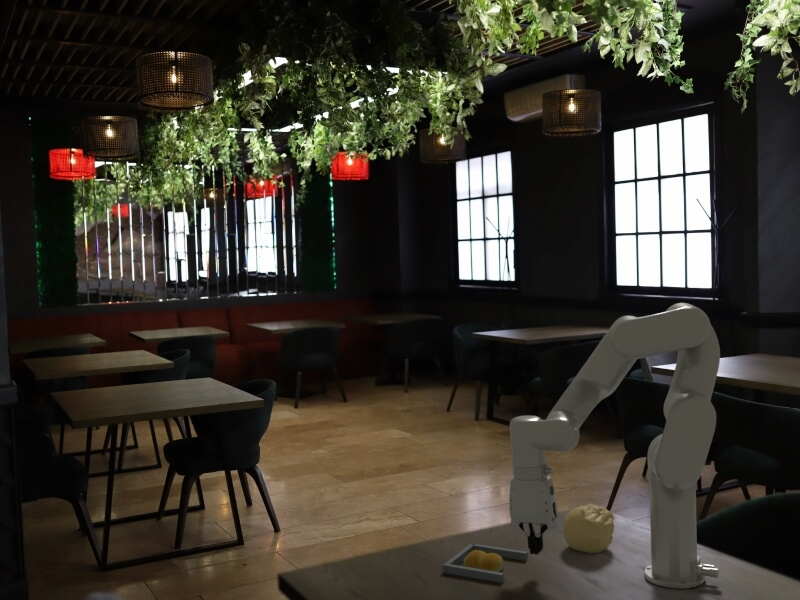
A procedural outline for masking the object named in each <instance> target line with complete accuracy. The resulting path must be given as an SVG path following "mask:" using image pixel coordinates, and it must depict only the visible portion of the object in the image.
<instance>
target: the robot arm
mask: <svg viewBox="0 0 800 600" xmlns="http://www.w3.org/2000/svg"><path fill="white" fill-rule="evenodd" d="M719 342H720V341H719V340H718V336H717V334H716V332H715V329H714V327H713V325H712V324H711V320H710V318H709V316H708V315H707V314H706V313H705V311H704V310H702V309H701V308H700V307H697V306H695V305H693V304H690V303H687V302H679V303H674V304H673V305H671V306H670V307H668V308H667V309H666V310H665V311H663V312H660V313H658V312H657V313H655V314H654V313H653V314H651V315H650V314H649V315H645V316H639V317H637V316H634V315H623V316H620V317H619V318H617V319H616V320H615V321H614V322H613V323H612V324H611V326H610V327H609V329H608V330H607V331H606V333H605V334H604V336H603V337H602V339H601V340H600V341H599V343H598V344H597V346H596V347H595V348H594V350H593V352H592V353H591V355H590V356H589V357H588V358H587V361H586V362H585V363H584V364H583V366H582V367H581V369H580V370H579V371H578V373H577V374H576V375H575V377H574V379H573V380H572V381H571V382H570V384H569V385H568V387H567V388H566V389H565V390H564V392H563V393H562V395H561V396H560V398H559V399H558V400H557V402H556V403H555V404H554V406H553V407H552V409H551V410H550V412H549V413H548V415H547V417H546V419H542V418H541V417H539V416H537V415H518V416H515V417H513V418H511V420H510V422H509V437H510V449H511V450H510V451H511V462H512V463H511V464H512V474H513V476H512V477H511V478H510V483H509V492H508V493H509V494H508V495H509V496H508V499H509V500H508V501H509V503H508V505H509V516H510V524H511V525H512V526H515V527H517V528H520V529H521V530H522V531H523V532H524V535H525V536H526V537H527V548H528V549H529V553H530V555H537V556H538V555H539V554H540V553H541V552H542V550H543V549H544V539H543V537H544V536H543V534H544V533H545V532H547V531H549V530H556V529H557V527H558V521H557V518H558V516H559V512H558V511H559V510H558V501H557V495H556V490H555V486H554V483H553V479H552V477H551V476H550V475H552V474H553V473H554V469H553V468H554V467H549V466H548V463H547V455H546V454H547V453H546V451H552V452H561V453H562V452H567V451H571V450H572V449H574V448H575V447H576V446H577V445H578V443H579V440H580V429H581V427H582V425H583V424H584V422H585V421H586V420H587V418H588V417H589V415H590V414H591V413H592V411H593V410H594V408H596V407H597V405H599V403H600V402H601V401H602V400H604V399H605V398H607V397H609V396H610V395H612V394H613V393H614V392H615V391H616V390H617V388H618V387H619V386H620V384H621V382H622V381H623V380H624V378H625V377H626V375H627V374H628V373H629V371H630V370H631V369H632V367H633V365H634V364H635V363H636V361H637V360H639V359H644V358H645V359H646V358H650V357H656V356H660V355H664V354H665V355H666V354H670V353H675V352H677V359H676V364H675V367H674V371H673V372H674V373H673V376H672V379H671V383H670V386H669V389H668V393H667V395H666V398H665V400H664V403H663V415H664V417H665V420H666V421H665V426H664V428H663V431H662V432H663V433H660V434H659V435H657V436H656V437H654V439H653V440H651V442H650V444H649V446H648V450H647V458H646V459H647V468H648V469H647V470H648V483H649V487H648V488H649V515H650V516H649V519H650V520H649V523H650V526H649V527H650V556H651V557H650V558H651V559H650V560H651V564H650V565H647V566H646V567H645V568H644V570H643V571H644V573H643V575H644V578H645V579H646V580H647V581H648V582H649V583H652V584H654V585H657V586H661V587H664V588H670V589H677V590H678V589H681V590H682V589H683V590H685V589H692V587H693V588H696V586H697V587H699V586H698V585H700V584H701V585H703V584H704V583H705V582H706V577H709V578H712V579H719V577H720V576H719V575H720V571H719V568H716V567H715V564H707V563H704V562H703V561H702V562H701V558H702V557H701V556H700V555H698V546H697V545H698V540H697V537H698V536H697V495H696V494H697V493H696V483H697V482H698V480H699V479H700V478H701V475H702V473H703V470H704V468H705V465H706V461H707V458H708V454H709V451H710V449H711V448H710V447H711V444H712V442H713V437H714V435H715V431H716V428H717V427H716V426H717V411H716V409H715V406H714V405H713V403H712V402H711V400H712V396H713V392H714V388H715V384H716V380H717V378H718V377H717V376H718V371H719V367H720V361H721V349H720V344H719ZM534 524H535V528H534ZM704 581H705V582H704ZM703 582H704V583H703ZM702 583H703V584H702ZM701 585H700V586H701Z"/></svg>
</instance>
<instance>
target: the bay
mask: <svg viewBox="0 0 800 600" xmlns="http://www.w3.org/2000/svg"><path fill="white" fill-rule="evenodd" d="M474 550H481V551H484V552H485V553H486V554H487V553H495V554H498V555H500V556H501V557H502V558H504V557H505V558H506V559H510V558H511V559H512V560H516V559H517V560H518V561H522V562H523V561H525V562H527V561H528V560H529V556H528V551H524V550H517V549H511V548H505V547H498V546H493V545H485V544H479V543H478V544H477V543H469V544H467V545H466V547H464V548H462V549H461V550H460V551H459V552H458V553H456V554H455V555H454V556H453V557H451V558H450V559H448V560H447V561H445V563H443V564H442V574H447V575H454V576H459V577H464V578H471V579H477V580H483V581H487V582H488V581H489V582H494V583H499V584H503V583H504V582H505V573H504V572H501V571H500V572H494V571H488V570H482V569H476V568H470V567H464V565H460V564H462V563H463V562H464V559H465V558H466V557H467V556H468V554H469V553H470V552H472V551H474ZM505 558H504V559H505ZM462 561H463V562H462ZM461 562H462V563H461Z"/></svg>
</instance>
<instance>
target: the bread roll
mask: <svg viewBox="0 0 800 600" xmlns="http://www.w3.org/2000/svg"><path fill="white" fill-rule="evenodd" d="M462 563H463V565H462V566H464V567H470V568H476V569H482V570H488V571H494V572H500V573H501V571H503V569H504V559H503V557H501V556H500V555H498V554H495V553H487V554H486V553H485V552H484V551H481V550H474V551H472V552H470V553H469V554H468V556H467V557H466V558H465V559H464V561H463V562H462Z"/></svg>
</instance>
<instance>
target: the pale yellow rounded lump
mask: <svg viewBox="0 0 800 600" xmlns="http://www.w3.org/2000/svg"><path fill="white" fill-rule="evenodd" d="M614 519H615V518H614V514H613V512H612V511H610V510H608V509H607V508H605V507H603V506H600V505H597V504H592V503H588V504H586V505H580V506H577V507H575V508H572V509H571V510H570V511H569V512H568V513H567V515H566V516H565V518H564V521H563V525H562V533H563V537H564V540H565V542H566V544H567V545H568V547H570V548H571V549H573V550H576V551H579V552H583V553H587V554H598V553H601V552H603V551H605V550H607V549H608V548H609V547H610V545H611V544H612V541H613V540H614V537H613V533H614V531H615V524H614Z"/></svg>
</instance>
